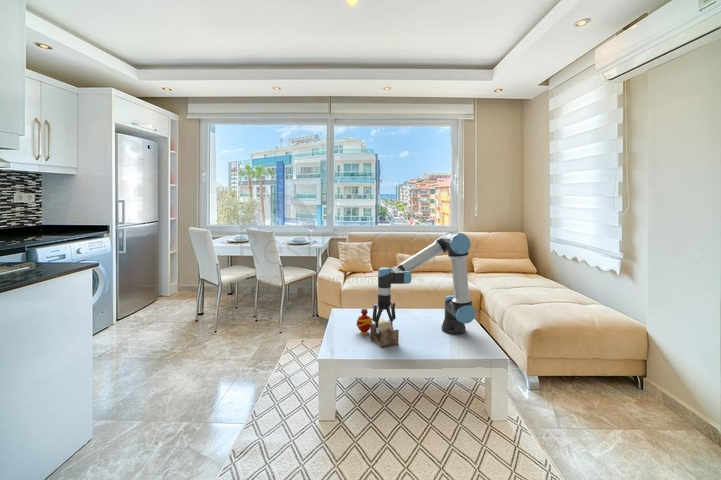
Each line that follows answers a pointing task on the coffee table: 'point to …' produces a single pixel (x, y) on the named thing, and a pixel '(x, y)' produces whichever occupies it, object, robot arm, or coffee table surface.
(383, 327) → the roll
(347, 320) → the coffee table surface
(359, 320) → the potion bottle
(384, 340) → the holder
